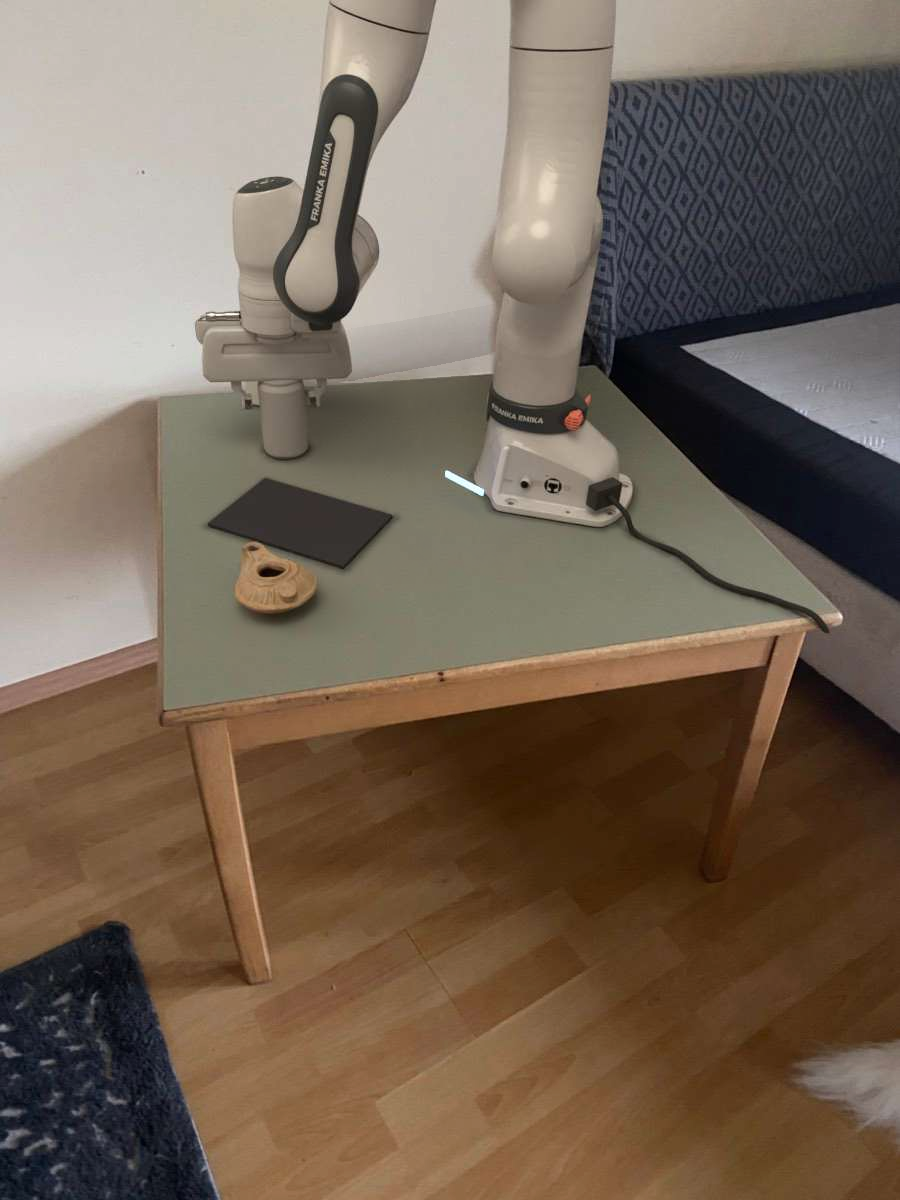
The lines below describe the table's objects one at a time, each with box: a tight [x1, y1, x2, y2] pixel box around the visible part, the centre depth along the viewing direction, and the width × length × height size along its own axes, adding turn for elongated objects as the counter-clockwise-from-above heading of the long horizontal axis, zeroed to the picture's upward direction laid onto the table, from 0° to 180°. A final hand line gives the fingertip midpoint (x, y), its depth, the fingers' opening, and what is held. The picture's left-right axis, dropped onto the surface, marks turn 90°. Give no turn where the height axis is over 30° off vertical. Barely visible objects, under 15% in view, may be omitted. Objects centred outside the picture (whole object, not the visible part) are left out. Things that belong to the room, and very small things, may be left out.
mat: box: [207, 477, 393, 570], centre depth 114 cm, size 20×13×1 cm, turn 66°
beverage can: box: [257, 380, 309, 460], centre depth 125 cm, size 6×6×12 cm
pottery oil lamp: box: [234, 541, 319, 614], centre depth 100 cm, size 9×12×7 cm
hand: (281, 406), depth 124 cm, fingers open, 8 cm apart
